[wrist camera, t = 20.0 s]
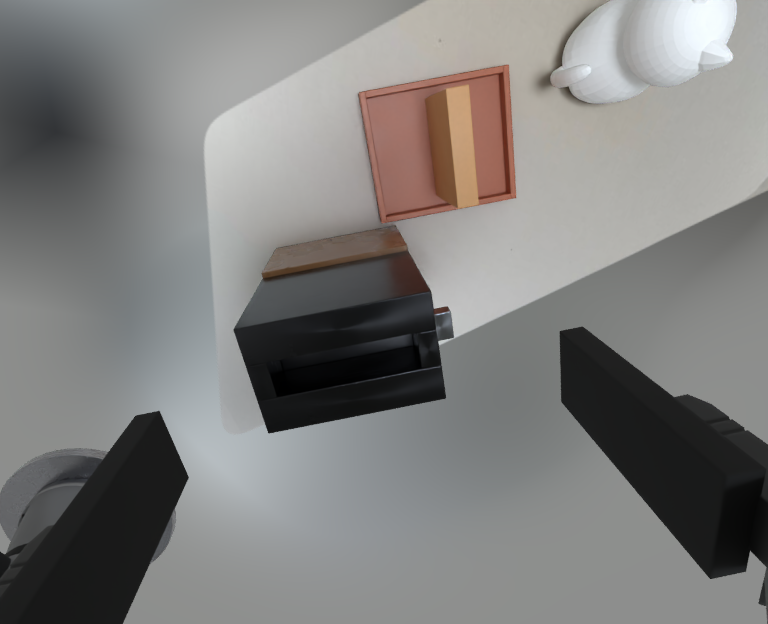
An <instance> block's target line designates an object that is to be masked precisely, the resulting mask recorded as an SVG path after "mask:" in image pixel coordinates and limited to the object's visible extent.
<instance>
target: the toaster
mask: <svg viewBox="0 0 768 624" xmlns="http://www.w3.org/2000/svg"><path fill="white" fill-rule="evenodd" d="M262 277H263V279H262V281H261V283H260V284H259V286H258V288H257V290H256V291H255V293H254V295H253V297H252V298H251V300H250V302H249V303H248V305H247V307H246V309H245V310H244V312H243V314H242V316H241V317H240V319H239V321H238V323H237V324H236V326H235V328H234V333H235V336H236V339H237V342H238V345H239V348H240V350H241V353H242V356H243V359H244V362H245V365H246V368H247V371H248V374H249V377H250V380H251V383H252V386H253V389H254V392H255V395H256V398H257V401H258V404H259V407H260V410H261V413H262V416H263V419H264V422H265V425H266V428H267V431H268V433H274V432H278V431H284V430H288V429H294V428H298V427H304V426H309V425H314V424H319V423H324V422H329V421H334V420H340V419H345V418H350V417H355V416H360V415H364V414H370V413H375V412H380V411H385V410H390V409H395V408H400V407H405V406H410V405H415V404H420V403H425V402H431V401H436V400H440V399H445V398H446V394H445V387H444V380H443V373H442V366H441V358H440V351H439V344H438V341H440V340H445V339H450V338H454V334H453V326H452V318H451V311H450V310H449V308H448V307H441V308H436V309H434V308H433V301H432V294H431V291H430V289H429V287H428V285H427V284H426V282H425V280H424V278H423V277H422V275H421V273H420V271H419V270H418V268H417V266H416V264H415V262H414V261H413V259H412V257H411V255H410V254H409V252H408V248H407V245H406V243H405V241H404V239H403V238H402V236H401V234H400V233H399V231H398V229H397V228H396V226H391V227H385V228H380V229H375V230H370V231H364V232H359V233H354V234H349V235H344V236H338V237H333V238H328V239H323V240H317V241H312V242H307V243H302V244H296V245H291V246H286V247H281V248H276V250H275V252H274V253H273V255H272V257H271V258H270V260H269V262H268V263H267V265H266V267H265V268H264V270H263V271H262Z"/></svg>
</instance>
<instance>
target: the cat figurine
mask: <svg viewBox="0 0 768 624" xmlns="http://www.w3.org/2000/svg"><path fill="white" fill-rule="evenodd" d="M736 14H737V4H736V0H611V1H609V2H607V3H605V4H603V5H602V6H600V7H598V8H597V9H596V10H594V11H593V12H592V13H591V14H590V15H588V16H587V17H586V18H585V19H584V20H583V22H582V23H581V24H580V25H579V26H578V27H577V28H576V29H575V30H574V32H573V33H572V35H571V36H570V38H569V39H568V41H567V43H566V46H565V48H564V52H563V56H562V65H563V66H561V67H559V68H558V69H556V70H555V71H554V72H553V73H552V74H551V77H550V80H551V84H552V85H553V86H554V87H557V88H562V87H567V86H569V89H570V91H571V93H572V94H573V95H574V96H575V97H576V98H578V99H579V100H582V101H585V102H588V103H595V104H603V103H614V102H620V101H624V100H627V99H630V98H632V97H634V96H636V95H638V94H640V93H641V92H643V91H644V90H645V89H646V88H648V87H649V86H650V85H652V86H658V87H671V86H675V85H679V84H682V83H684V82H686V81H688V80H690V79H691V78H693V77H695V76H697V75H699V74H700V73H701V72H705V71H709V70H713V69H717V68H719V67H722V66H724V65H727V64H729V63H730V62H731V60H732V58H733V54H732V53H731V51H730V50H729V48H728V47H727V46H726V44H727V42H728V40H729V38H730V36H731V33H732V30H733V28H734V24H735V20H736Z"/></svg>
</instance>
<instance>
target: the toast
mask: <svg viewBox="0 0 768 624" xmlns="http://www.w3.org/2000/svg"><path fill="white" fill-rule="evenodd" d="M425 103H426V112H427V120H428V129H429V137H430V146H431V154H432V162H433V171H434V179H435V188H436V195H437V196H438V197H440V198H441V199H443V200H444V201H446V202H448V203H449V204H451V205H452V206H454V207H456V208H457V209H461V208H467V207H472V206H477V205H479V199H478V187H477V175H476V163H475V151H474V139H473V127H472V115H471V103H470V91H469V85H462V86H456V87H451V88H446V89H444V90H442V91H440V92H438V93H436V94H434V95H431V96H429V97H427V98H425Z"/></svg>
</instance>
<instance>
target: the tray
mask: <svg viewBox="0 0 768 624" xmlns="http://www.w3.org/2000/svg"><path fill="white" fill-rule="evenodd" d="M462 85H469V91H470V103H471V115H472V127H473V139H474V151H475V163H476V175H477V187H478V199H479V205H482V204H487V203H492V202H498V201H503V200H508V199H513V198H516V186H515V168H514V150H513V133H512V115H511V97H510V79H509V65H503V66H498V67H493V68H487V69H482V70H476V71H471V72H466V73H460V74H455V75H450V76H444V77H439V78H434V79H428V80H423V81H417V82H412V83H407V84H401V85H396V86H391V87H385V88H380V89H375V90H369V91H364V92H359V101H360V106H361V112H362V118H363V123H364V129H365V135H366V140H367V146H368V152H369V157H370V163H371V169H372V174H373V180H374V186H375V192H376V197H377V203H378V209H379V214H380V220H381V222H382V223H387V222H393V221H398V220H403V219H409V218H414V217H419V216H424V215H430V214H435V213H440V212H445V211H450V210H456V209H457V208H456V207H454V206H452V205H451V204H449V203H448V202H446V201H444V200H443V199H441V198H440V197H438V196H437V195H436V188H435V179H434V171H433V162H432V154H431V146H430V137H429V129H428V120H427V112H426V103H425V98H427V97H429V96H431V95H434V94H436V93H438V92H440V91H442V90H444V89H446V88H451V87H456V86H462Z"/></svg>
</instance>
